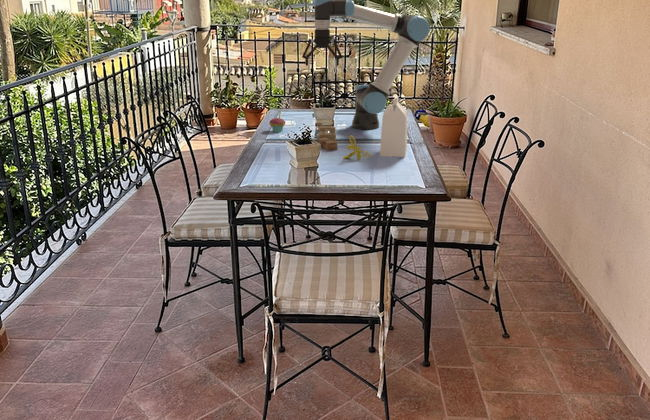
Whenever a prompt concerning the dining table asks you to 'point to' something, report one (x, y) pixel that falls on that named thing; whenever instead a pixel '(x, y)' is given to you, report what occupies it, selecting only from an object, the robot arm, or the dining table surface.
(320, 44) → the robot arm
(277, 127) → the cupcake
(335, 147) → the walnut bar
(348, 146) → the decorative insect
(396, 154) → the milk
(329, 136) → the birch cradle
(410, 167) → the dining table surface
